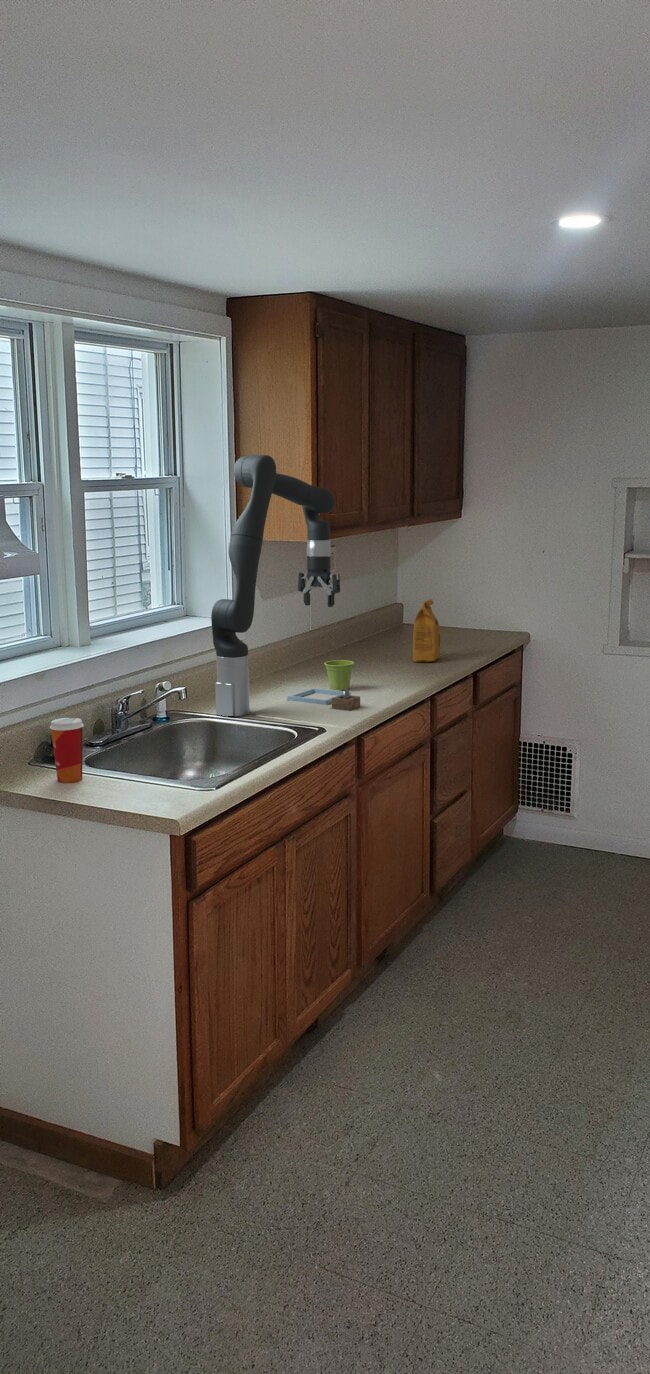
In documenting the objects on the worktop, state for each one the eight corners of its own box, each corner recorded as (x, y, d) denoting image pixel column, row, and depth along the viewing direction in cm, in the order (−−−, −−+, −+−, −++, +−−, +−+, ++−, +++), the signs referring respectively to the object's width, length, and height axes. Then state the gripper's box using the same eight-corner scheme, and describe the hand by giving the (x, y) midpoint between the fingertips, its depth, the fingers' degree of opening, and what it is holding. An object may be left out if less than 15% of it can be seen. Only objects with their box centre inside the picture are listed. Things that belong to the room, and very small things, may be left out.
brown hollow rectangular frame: (349, 710, 319) (349, 700, 318) (332, 708, 322) (331, 698, 322) (363, 705, 326) (363, 695, 325) (346, 703, 329) (346, 693, 328)
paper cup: (63, 774, 260) (60, 716, 257) (92, 776, 258) (89, 717, 255) (46, 783, 253) (42, 723, 250) (76, 785, 250) (72, 725, 248)
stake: (350, 713, 319) (349, 693, 317) (329, 710, 322) (329, 691, 321) (362, 709, 324) (362, 689, 323) (342, 706, 328) (342, 687, 327)
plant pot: (348, 692, 348) (348, 665, 346) (320, 691, 351) (320, 664, 349) (358, 687, 356) (357, 660, 354) (330, 685, 359) (330, 659, 358)
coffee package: (444, 658, 407) (444, 598, 402) (435, 664, 395) (436, 603, 391) (418, 657, 410) (418, 598, 406) (409, 662, 399) (409, 602, 394)
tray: (326, 707, 327) (326, 700, 327) (287, 702, 335) (287, 696, 334) (350, 698, 339) (350, 692, 338) (312, 694, 346) (312, 688, 346)
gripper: (293, 554, 345) (293, 606, 348) (331, 556, 338) (331, 608, 341) (306, 553, 352) (306, 603, 355) (344, 554, 344) (344, 606, 347)
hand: (319, 606), depth 348 cm, fingers open, 8 cm apart
